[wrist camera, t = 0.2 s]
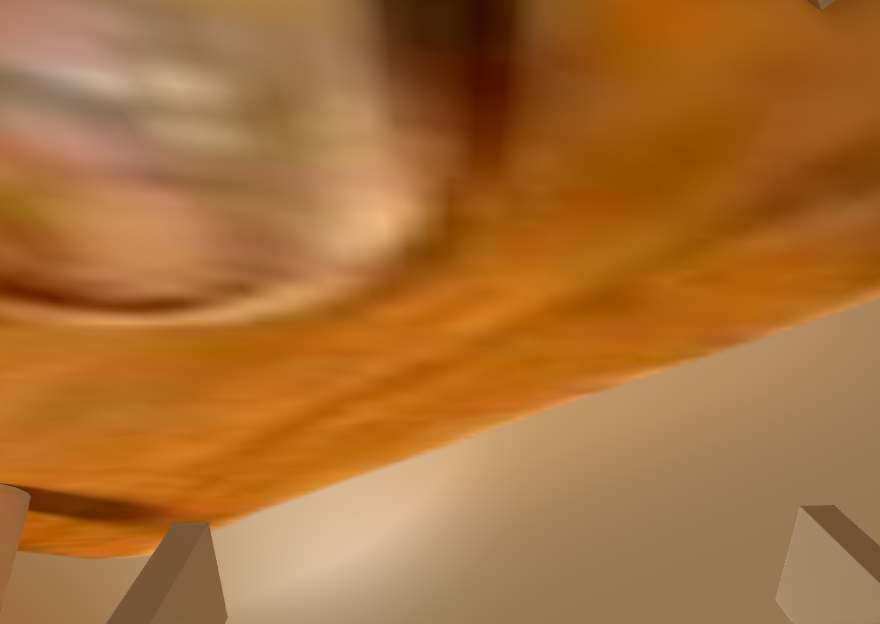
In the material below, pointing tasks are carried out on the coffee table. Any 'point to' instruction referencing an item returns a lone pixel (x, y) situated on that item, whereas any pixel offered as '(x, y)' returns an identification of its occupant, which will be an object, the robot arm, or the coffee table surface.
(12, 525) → the foam cup
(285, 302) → the coffee table surface
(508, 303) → the coffee table surface
